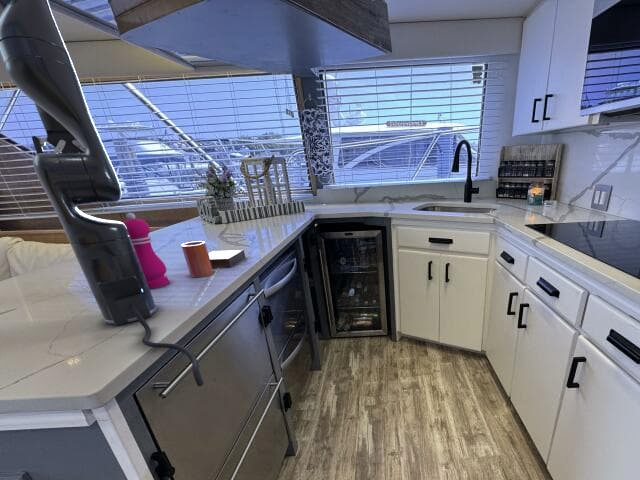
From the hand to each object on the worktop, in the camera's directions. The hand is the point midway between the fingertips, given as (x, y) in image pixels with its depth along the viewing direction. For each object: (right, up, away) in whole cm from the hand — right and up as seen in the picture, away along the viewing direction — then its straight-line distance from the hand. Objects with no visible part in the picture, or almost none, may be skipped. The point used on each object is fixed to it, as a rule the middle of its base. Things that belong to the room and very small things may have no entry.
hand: (83, 177), depth 92 cm
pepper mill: (+22, -31, -1) cm, 38 cm away
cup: (+30, -27, +7) cm, 41 cm away
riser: (+30, -22, +17) cm, 42 cm away
